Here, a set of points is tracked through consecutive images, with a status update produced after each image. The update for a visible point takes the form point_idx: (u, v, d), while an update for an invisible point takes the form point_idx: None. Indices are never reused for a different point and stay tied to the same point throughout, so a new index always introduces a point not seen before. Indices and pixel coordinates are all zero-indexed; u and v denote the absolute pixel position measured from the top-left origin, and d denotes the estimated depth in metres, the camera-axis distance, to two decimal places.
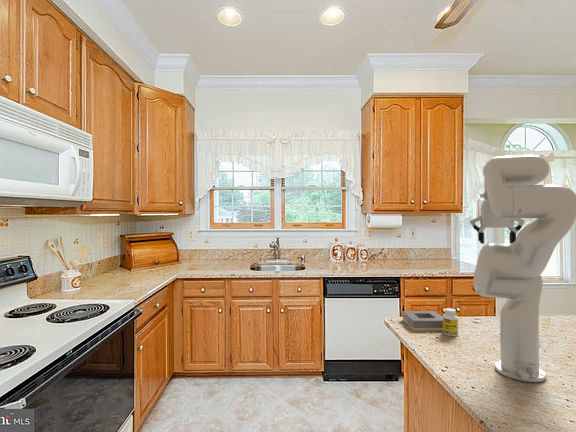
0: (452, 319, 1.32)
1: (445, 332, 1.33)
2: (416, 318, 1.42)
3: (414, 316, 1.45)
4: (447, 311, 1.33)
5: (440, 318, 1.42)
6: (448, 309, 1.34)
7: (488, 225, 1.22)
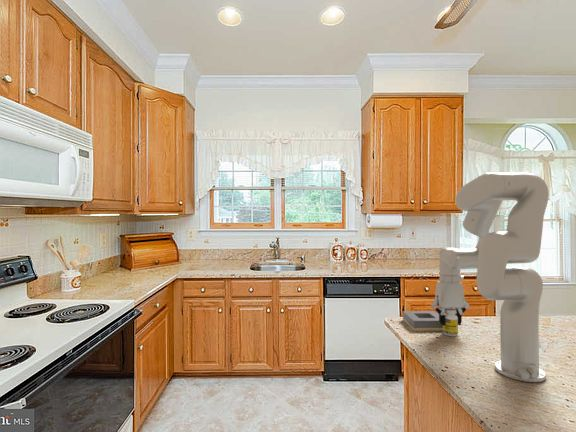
0: (452, 319, 1.32)
1: (445, 332, 1.33)
2: (416, 318, 1.42)
3: (414, 316, 1.45)
4: (447, 311, 1.33)
5: None
6: (448, 309, 1.34)
7: None
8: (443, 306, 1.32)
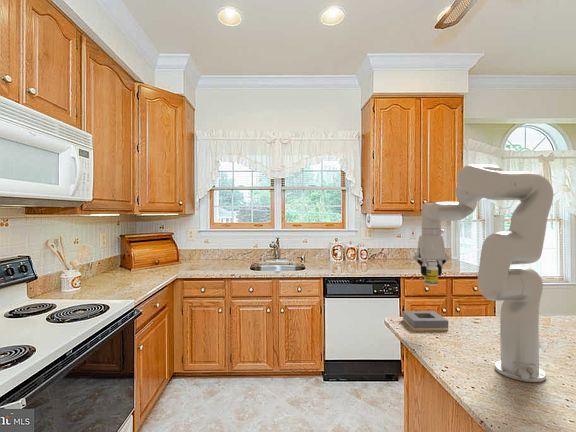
0: (432, 270, 1.40)
1: (426, 282, 1.42)
2: (416, 318, 1.42)
3: (414, 316, 1.45)
4: (428, 262, 1.41)
5: (440, 318, 1.42)
6: (429, 261, 1.43)
7: None
8: (424, 257, 1.40)
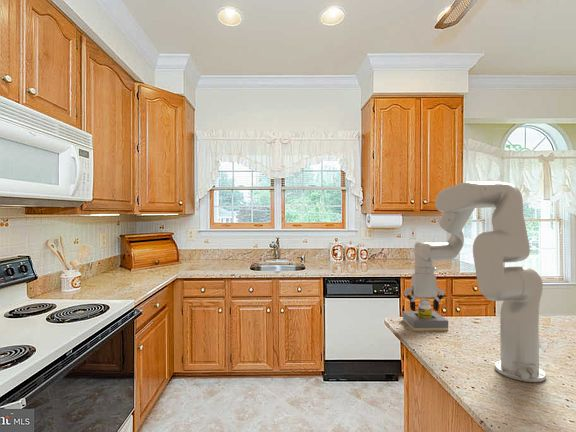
0: (426, 309, 1.43)
1: None
2: (416, 318, 1.42)
3: (414, 316, 1.45)
4: (422, 301, 1.44)
5: (440, 318, 1.42)
6: (423, 300, 1.46)
7: None
8: (417, 295, 1.44)
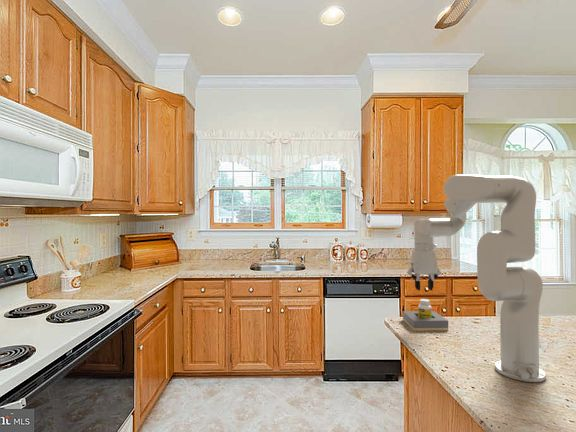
0: (426, 309, 1.43)
1: None
2: (416, 318, 1.42)
3: (414, 316, 1.45)
4: (422, 301, 1.44)
5: (440, 318, 1.42)
6: (423, 300, 1.46)
7: None
8: (417, 272, 1.44)
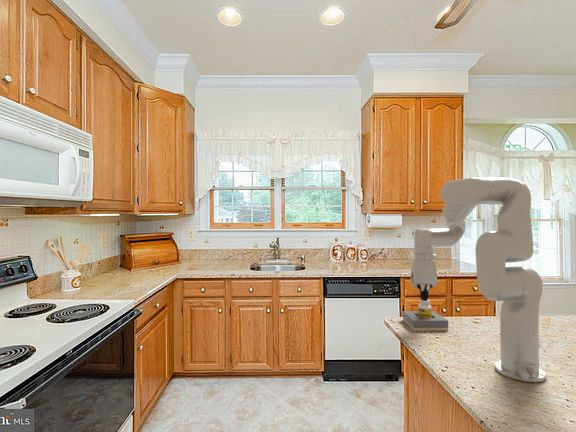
0: (426, 309, 1.43)
1: None
2: (416, 318, 1.42)
3: (414, 316, 1.45)
4: (421, 301, 1.44)
5: (440, 318, 1.42)
6: None
7: None
8: (417, 282, 1.44)
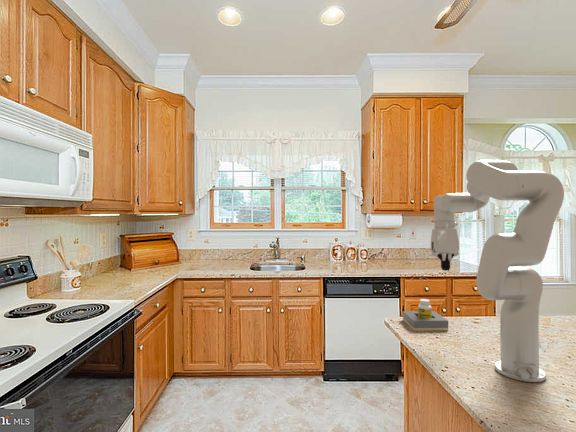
0: (426, 309, 1.43)
1: None
2: (416, 318, 1.42)
3: (414, 316, 1.45)
4: (422, 301, 1.44)
5: (440, 318, 1.42)
6: (423, 300, 1.46)
7: None
8: (438, 251, 1.37)
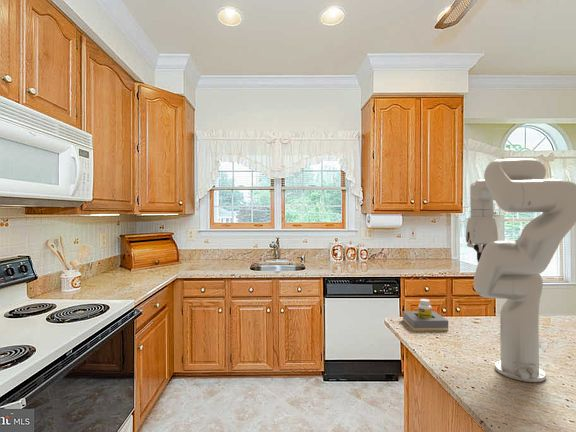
0: (426, 309, 1.43)
1: None
2: (416, 318, 1.42)
3: (414, 316, 1.45)
4: (422, 301, 1.44)
5: (440, 318, 1.42)
6: (423, 300, 1.46)
7: None
8: (475, 242, 1.27)
